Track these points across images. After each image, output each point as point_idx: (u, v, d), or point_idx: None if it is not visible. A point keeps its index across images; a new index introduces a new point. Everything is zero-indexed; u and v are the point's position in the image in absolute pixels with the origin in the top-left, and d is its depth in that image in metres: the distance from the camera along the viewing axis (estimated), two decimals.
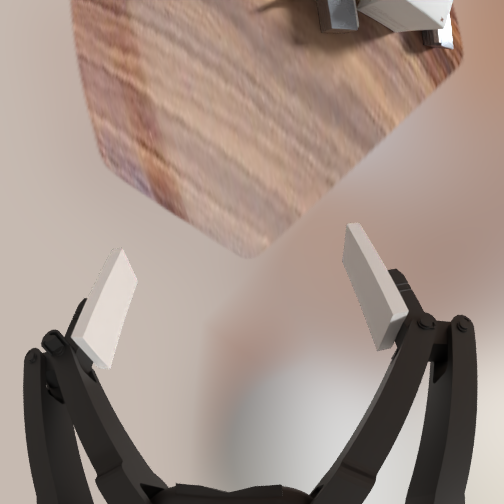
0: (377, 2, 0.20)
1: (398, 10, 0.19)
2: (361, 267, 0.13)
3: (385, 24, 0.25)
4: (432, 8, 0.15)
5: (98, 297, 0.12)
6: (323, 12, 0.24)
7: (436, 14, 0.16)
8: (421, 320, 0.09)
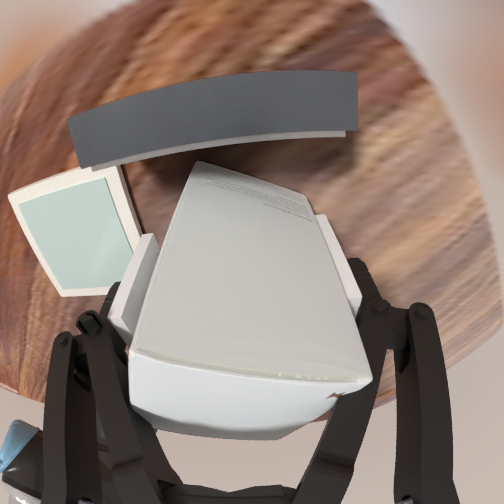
0: None
1: None
2: None
3: None
4: (297, 414, 0.08)
5: (133, 278, 0.13)
6: None
7: (320, 406, 0.08)
8: (374, 306, 0.10)
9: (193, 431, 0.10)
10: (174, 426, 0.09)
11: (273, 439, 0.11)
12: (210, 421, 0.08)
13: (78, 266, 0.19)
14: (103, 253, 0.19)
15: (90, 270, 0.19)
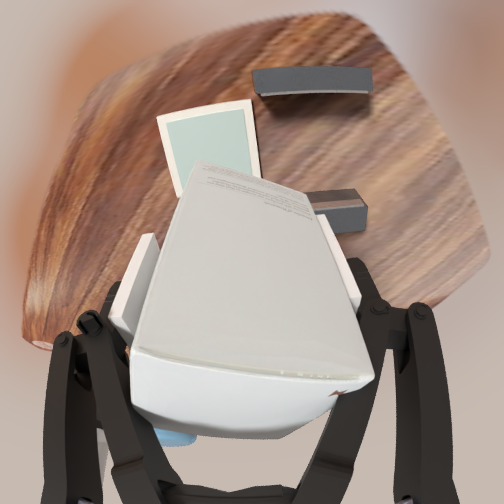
0: None
1: None
2: None
3: None
4: (299, 413, 0.08)
5: (134, 278, 0.13)
6: None
7: (322, 404, 0.08)
8: (374, 306, 0.10)
9: (194, 431, 0.10)
10: (176, 425, 0.09)
11: (275, 438, 0.11)
12: (211, 420, 0.08)
13: None
14: (228, 157, 0.32)
15: None
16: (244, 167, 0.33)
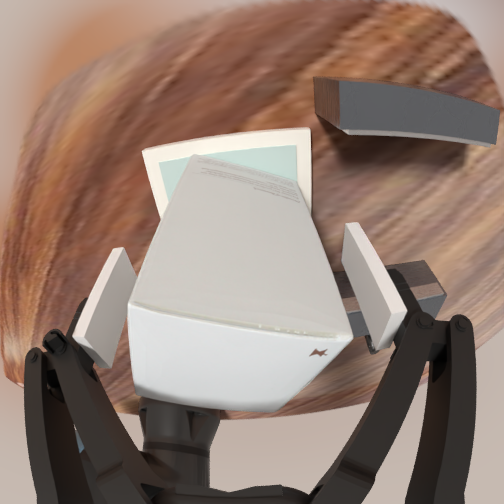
0: None
1: None
2: (360, 267, 0.13)
3: None
4: (285, 376, 0.09)
5: (99, 296, 0.12)
6: None
7: (306, 366, 0.09)
8: (419, 319, 0.09)
9: (192, 400, 0.11)
10: (173, 394, 0.10)
11: (270, 411, 0.12)
12: (204, 385, 0.10)
13: None
14: None
15: None
16: None
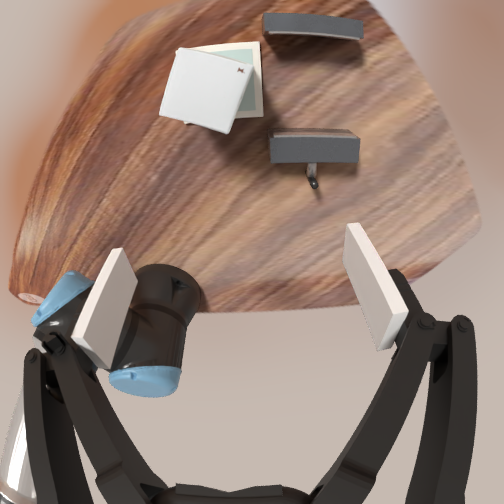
0: None
1: None
2: (361, 267, 0.13)
3: None
4: (229, 85, 0.21)
5: (98, 297, 0.12)
6: None
7: (237, 79, 0.21)
8: (421, 320, 0.09)
9: (186, 111, 0.23)
10: (179, 105, 0.22)
11: (225, 129, 0.24)
12: (195, 92, 0.22)
13: None
14: None
15: None
16: (248, 98, 0.33)
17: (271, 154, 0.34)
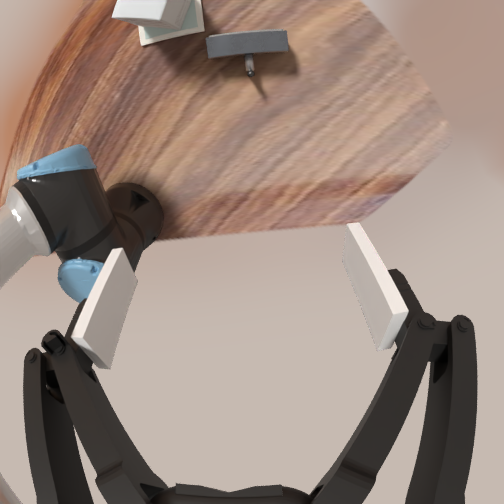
0: (171, 23, 0.27)
1: (173, 8, 0.25)
2: (361, 268, 0.13)
3: (188, 6, 0.29)
4: None
5: (98, 297, 0.12)
6: (268, 52, 0.35)
7: None
8: (421, 320, 0.09)
9: (130, 11, 0.22)
10: (125, 8, 0.21)
11: (157, 17, 0.23)
12: None
13: None
14: None
15: None
16: (191, 19, 0.32)
17: (208, 50, 0.33)
